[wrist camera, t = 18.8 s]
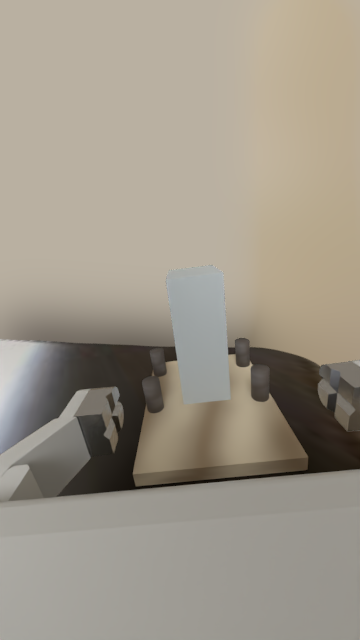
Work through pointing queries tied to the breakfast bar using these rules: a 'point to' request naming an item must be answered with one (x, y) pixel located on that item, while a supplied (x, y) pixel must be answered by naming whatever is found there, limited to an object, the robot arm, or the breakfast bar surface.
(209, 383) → the block
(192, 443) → the birch pin plate
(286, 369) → the breakfast bar surface
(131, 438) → the breakfast bar surface
